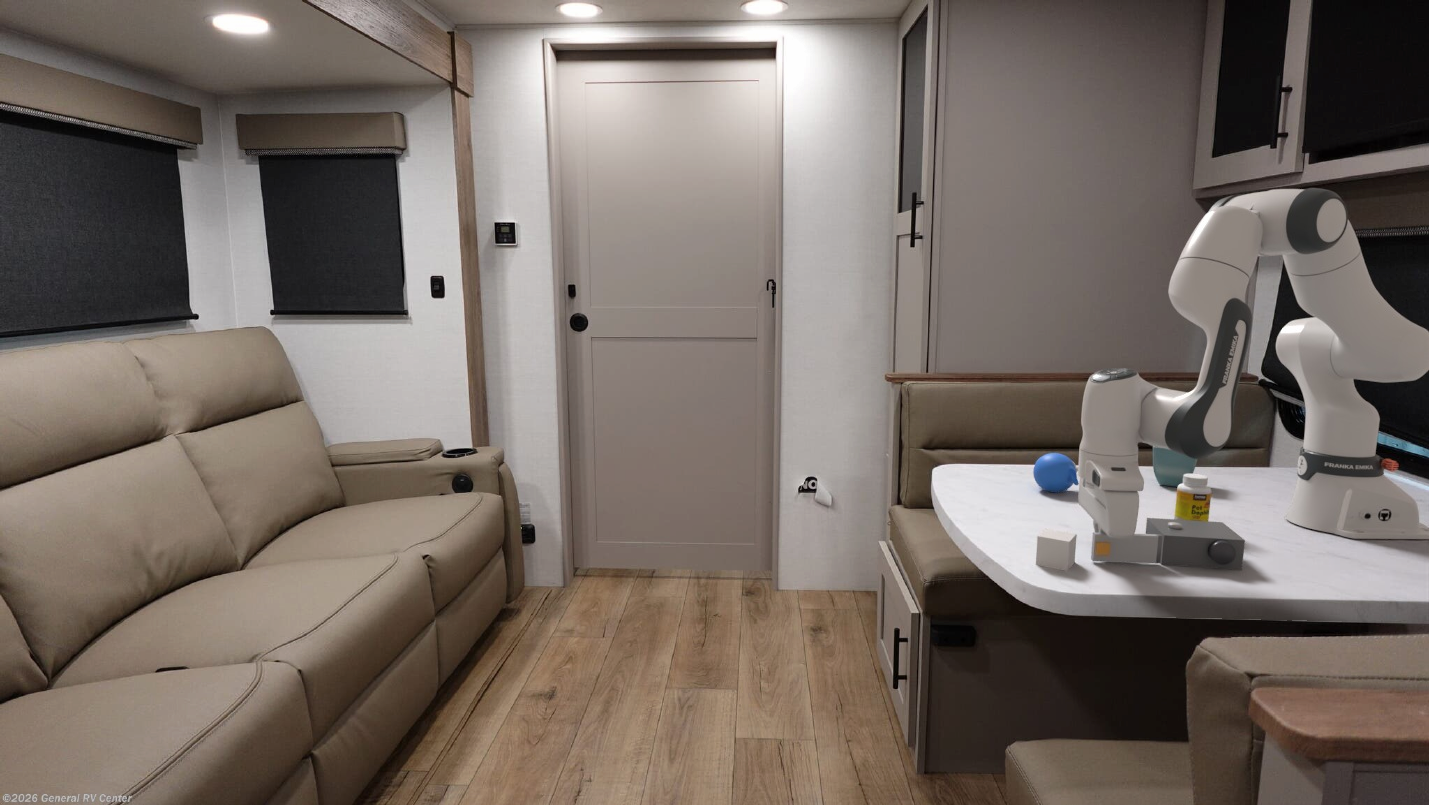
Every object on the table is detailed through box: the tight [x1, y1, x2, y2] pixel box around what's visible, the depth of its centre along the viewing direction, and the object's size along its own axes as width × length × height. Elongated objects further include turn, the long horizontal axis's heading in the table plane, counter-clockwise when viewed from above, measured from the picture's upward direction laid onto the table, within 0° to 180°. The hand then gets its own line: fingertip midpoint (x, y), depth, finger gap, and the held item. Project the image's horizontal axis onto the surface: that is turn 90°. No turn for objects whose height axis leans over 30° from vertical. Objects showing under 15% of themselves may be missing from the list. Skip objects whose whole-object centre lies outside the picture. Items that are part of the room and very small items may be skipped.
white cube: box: [1035, 528, 1078, 571], centre depth 142 cm, size 5×5×5 cm
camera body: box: [1145, 517, 1246, 571], centre depth 144 cm, size 12×12×6 cm
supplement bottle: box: [1173, 473, 1212, 521], centre depth 160 cm, size 6×6×10 cm
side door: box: [1090, 531, 1162, 564], centre depth 141 cm, size 2×11×5 cm, turn 85°
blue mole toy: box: [1032, 452, 1080, 493], centre depth 187 cm, size 12×12×8 cm
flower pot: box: [1152, 446, 1198, 488], centre depth 193 cm, size 9×9×9 cm
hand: (1102, 547), depth 145 cm, fingers closed
